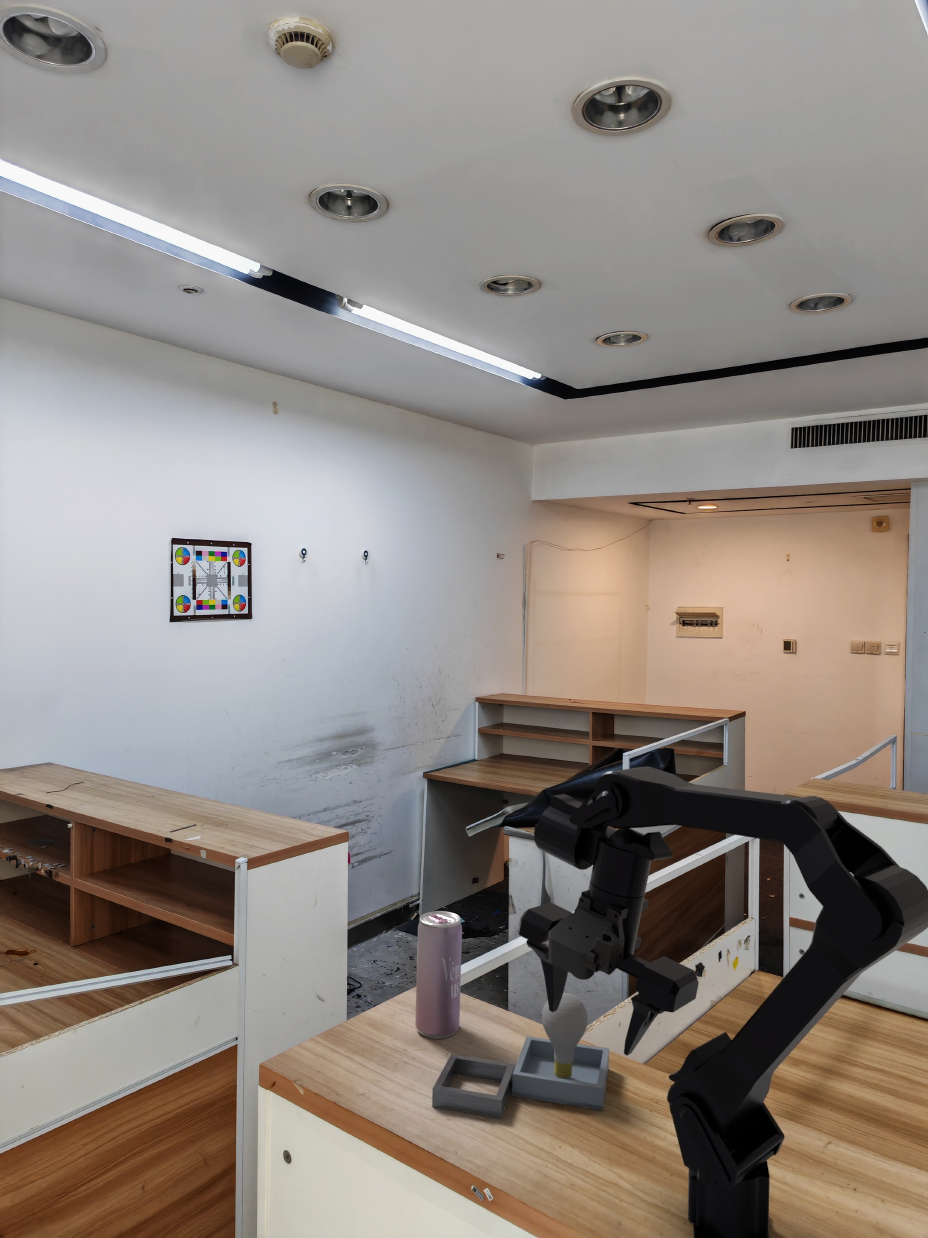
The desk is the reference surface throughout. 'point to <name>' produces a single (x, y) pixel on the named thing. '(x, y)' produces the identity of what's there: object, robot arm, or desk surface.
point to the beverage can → (438, 974)
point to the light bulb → (565, 1031)
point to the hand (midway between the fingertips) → (589, 1031)
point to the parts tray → (542, 1084)
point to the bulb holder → (469, 1099)
